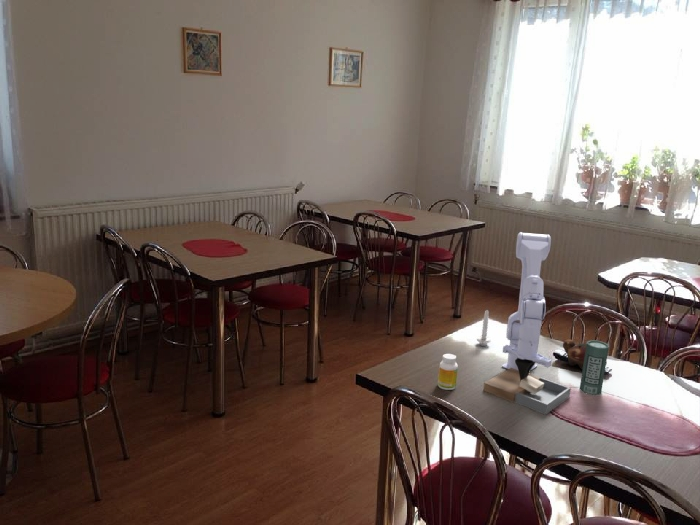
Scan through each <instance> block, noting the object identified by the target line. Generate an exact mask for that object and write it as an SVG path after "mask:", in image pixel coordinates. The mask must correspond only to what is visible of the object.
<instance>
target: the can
mask: <svg viewBox="0 0 700 525" xmlns="http://www.w3.org/2000/svg"><path fill="white" fill-rule="evenodd" d="M586 344H587V345H586V352H585V358H584V364H583V370H582V372H581V379H580V382H579V383H580V385H579V390H580V391H581V393H583V392H584V393H583V394H586V393H587V395H590V396H598V395H599V396H600V395H601V394H602V390H603V383H604V379H605V373H606V372H605V371H606V367H607V364H606V361H607V360H608V359H607V358H608V355H609V350H610V349H609V348H610V344H608V343H607V342H603V341H600V340H594V339H593V340H587V341H586Z"/></svg>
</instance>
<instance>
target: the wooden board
mask: <svg viewBox="0 0 700 525" xmlns="http://www.w3.org/2000/svg"><path fill="white" fill-rule="evenodd" d="M528 376H531V377H533V378H535V379H537V380H539V378H540V377H539V376H535V375H533V374H530V373H529V374H528ZM483 391H484V392H486V393H488V394H492V395H493V396H497V397H499V398H502V399H504V400H506V401H509V402H511V403H516V402H515V395H516V392H518V393H521V394H523V395H525V394H526V393H528V392H529V391H527V390H526V389H524V388H522V387H520V375H519V370H516V369H514V368H510V369H506V370H505V371H502V372H500V373H498V374H497V375H496V376H494V377H491V378H490V379H489V380H487V381H484V384H483Z"/></svg>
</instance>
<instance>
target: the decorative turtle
mask: <svg viewBox="0 0 700 525" xmlns="http://www.w3.org/2000/svg"><path fill="white" fill-rule="evenodd" d="M586 345H587V343H586V342H585V343H584V342H581V343H578V344H576V342H575V341H574V340H572V339H565V340H564V341H563V343H562V347H563V350H564V351H565V353H566V354H567V359H568V360H567V361H568V364H569V365H570V366H571V367H574V366H576V365H578V366H579V369H580V370H582V371H583V364H584V358H585V352H586ZM607 363H608V362H607V361H606V365H607Z"/></svg>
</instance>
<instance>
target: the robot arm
mask: <svg viewBox="0 0 700 525" xmlns="http://www.w3.org/2000/svg"><path fill="white" fill-rule="evenodd" d="M516 236H517V238H516V248H515V255H516V256H515V258H517V259H518V260H520V262H521V266H522V268H521V278H520V290H519V296H518V297H519V298H518V309H517V311H516V312H514V313H512V314H510V315H509V316H508V318H507V319H508V320H507V325H506V337H505V338H506V339H507V341H509V344H505V345H503V347H502V353H504V354H507V362H505V363H504V364H502V365H501V367H502V368H504V369H506V370H508V369H510V368H514V369H516V370H519V375H520V382H521V380H522V379H524V378H526V377H527V376H528V374H530V372H531V371H532V370H534V369H535V368H537V367H538V365H541V366H544V367H545V368H547V369H548V368H550V367H551V366H552V359H550V358H548V357H546V356H544V355H542V354H541V353H539V352H538V350H539V343H540V336H541V330H542V329H541V328H542V323H543V320H544V319H545V316H546V308H547V307H546V306H547V305H546V298H545V296H544V291H545V290H544V288H545V287H544V286H545V285H544V284H545V283H544V280H543V279H542V278H541V277H540V276H541V268H542V262H543V261H546V259H547V258H548V255H549V253H550V250H551V245H552V244H551V243H552V237H551V236H550V234H541V233H530V232H522V231H519V233H518V234H517V235H516ZM537 364H538V365H537Z"/></svg>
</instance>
